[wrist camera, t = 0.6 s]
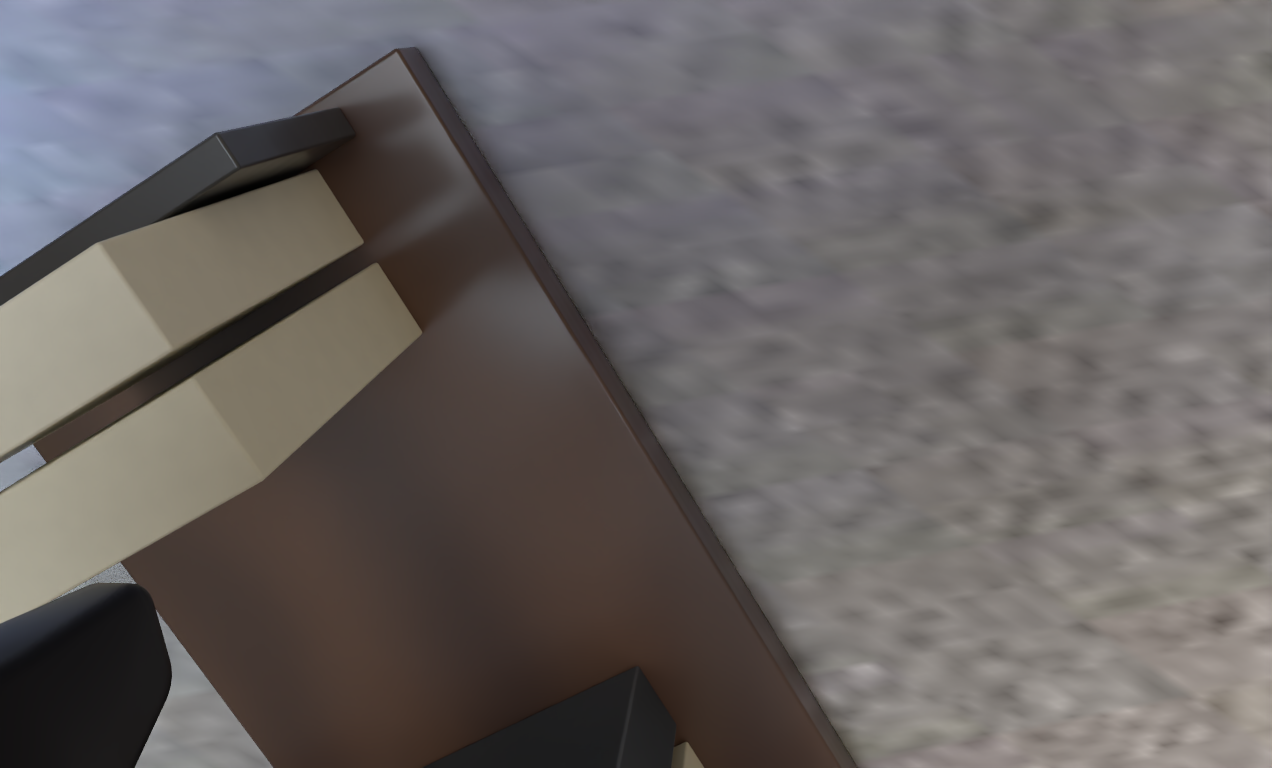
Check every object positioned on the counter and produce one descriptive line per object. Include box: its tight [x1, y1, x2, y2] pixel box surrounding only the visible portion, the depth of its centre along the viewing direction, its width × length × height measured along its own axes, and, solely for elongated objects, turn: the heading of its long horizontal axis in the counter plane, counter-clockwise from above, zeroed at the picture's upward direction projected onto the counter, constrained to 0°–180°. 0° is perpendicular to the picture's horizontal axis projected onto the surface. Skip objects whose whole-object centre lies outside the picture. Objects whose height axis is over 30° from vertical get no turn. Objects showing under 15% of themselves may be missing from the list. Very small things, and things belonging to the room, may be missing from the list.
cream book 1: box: [0, 169, 364, 463], centre depth 19 cm, size 6×2×8 cm, turn 121°
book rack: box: [0, 47, 857, 768], centre depth 22 cm, size 11×20×6 cm, turn 31°
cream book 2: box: [0, 263, 422, 623], centre depth 19 cm, size 6×2×8 cm, turn 121°
